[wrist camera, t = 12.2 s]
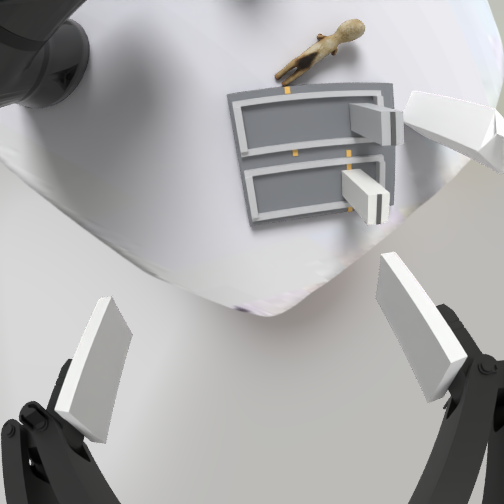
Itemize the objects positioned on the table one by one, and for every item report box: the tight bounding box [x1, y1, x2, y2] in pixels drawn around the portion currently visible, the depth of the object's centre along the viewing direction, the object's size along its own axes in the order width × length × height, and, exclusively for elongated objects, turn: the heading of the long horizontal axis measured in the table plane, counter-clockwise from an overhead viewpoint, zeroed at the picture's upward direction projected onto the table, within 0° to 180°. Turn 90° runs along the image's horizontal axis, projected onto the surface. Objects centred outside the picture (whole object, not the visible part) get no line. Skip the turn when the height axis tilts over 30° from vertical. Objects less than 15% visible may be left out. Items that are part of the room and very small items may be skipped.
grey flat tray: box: [227, 83, 395, 226], centre depth 41 cm, size 24×20×3 cm
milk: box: [403, 90, 504, 174], centre depth 30 cm, size 6×6×22 cm
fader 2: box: [342, 169, 390, 225], centre depth 39 cm, size 3×4×10 cm
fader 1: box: [349, 103, 404, 146], centre depth 33 cm, size 3×4×10 cm
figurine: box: [275, 19, 365, 86], centre depth 33 cm, size 4×4×15 cm
